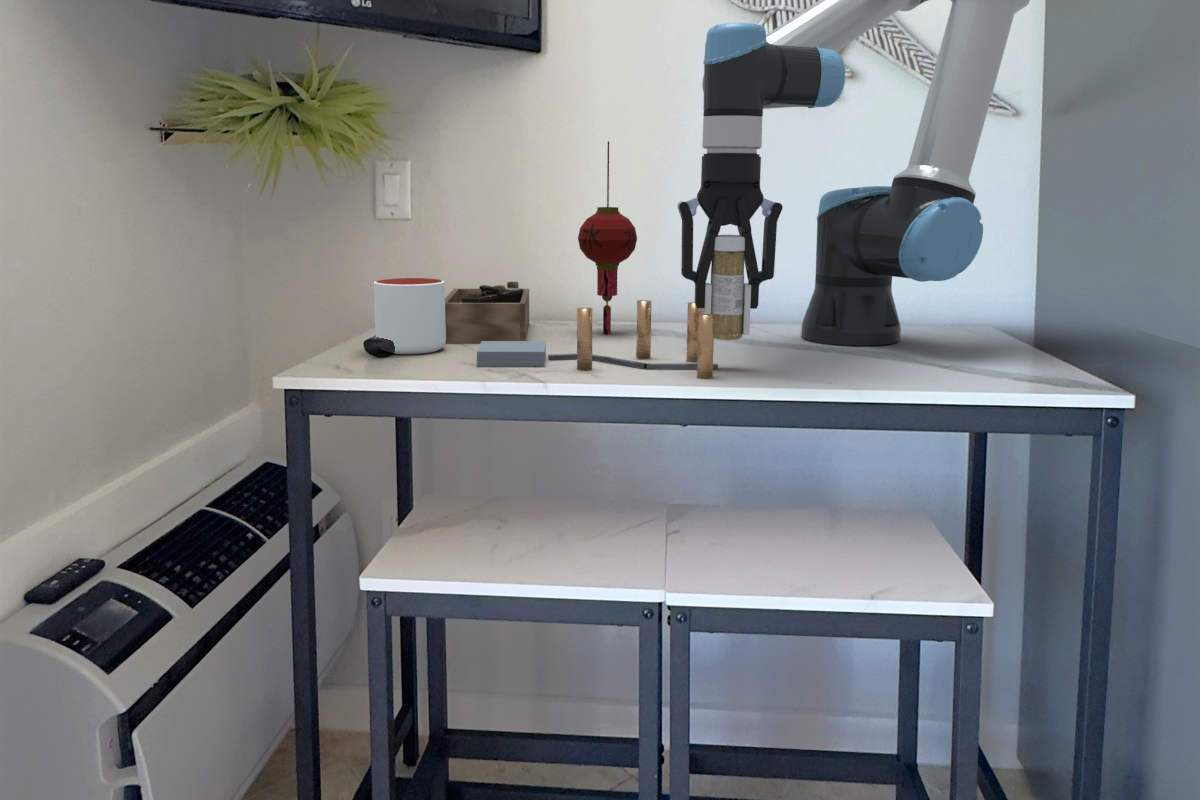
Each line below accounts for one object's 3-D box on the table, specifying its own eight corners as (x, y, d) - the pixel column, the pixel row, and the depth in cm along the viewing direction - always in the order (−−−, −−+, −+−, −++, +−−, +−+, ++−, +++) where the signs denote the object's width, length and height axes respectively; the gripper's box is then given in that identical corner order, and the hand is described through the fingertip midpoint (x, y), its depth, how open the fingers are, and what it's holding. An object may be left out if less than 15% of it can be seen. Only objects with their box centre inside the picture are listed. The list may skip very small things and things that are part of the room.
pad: (545, 355, 154) (545, 341, 154) (544, 366, 146) (544, 351, 145) (481, 355, 154) (481, 341, 154) (476, 366, 145) (476, 351, 145)
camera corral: (529, 324, 185) (529, 288, 184) (525, 343, 165) (525, 303, 164) (454, 323, 184) (454, 288, 183) (441, 343, 164) (440, 303, 163)
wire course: (708, 356, 154) (710, 300, 152) (725, 378, 138) (727, 315, 136) (548, 356, 153) (548, 299, 151) (546, 378, 137) (546, 315, 136)
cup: (432, 357, 152) (430, 285, 150) (365, 354, 154) (362, 283, 152) (455, 346, 162) (454, 278, 160) (392, 343, 164) (389, 277, 162)
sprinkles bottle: (724, 334, 147) (728, 233, 144) (749, 338, 144) (753, 235, 141) (700, 337, 144) (703, 234, 142) (725, 341, 141) (729, 236, 138)
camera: (493, 327, 182) (492, 279, 180) (529, 329, 179) (528, 281, 178) (441, 341, 167) (440, 288, 166) (480, 344, 165) (479, 291, 163)
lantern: (600, 327, 181) (601, 142, 175) (647, 333, 176) (650, 141, 170) (565, 334, 174) (565, 140, 167) (614, 340, 168) (615, 140, 162)
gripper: (793, 152, 143) (785, 329, 148) (660, 151, 142) (656, 328, 147) (806, 152, 136) (797, 337, 141) (666, 150, 135) (661, 337, 140)
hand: (725, 332), depth 144 cm, fingers closed on sprinkles bottle, 4 cm apart
